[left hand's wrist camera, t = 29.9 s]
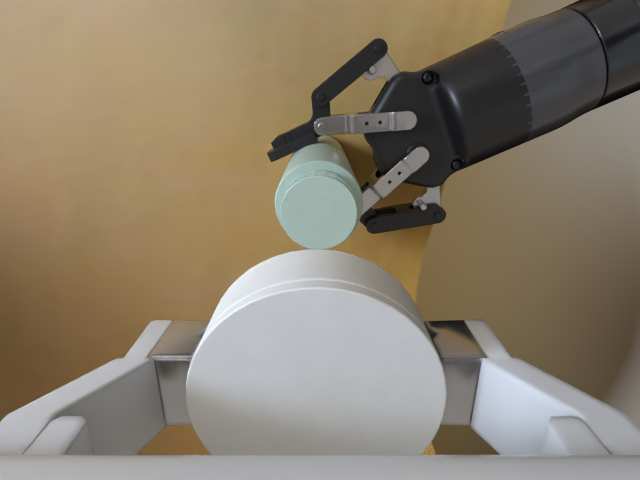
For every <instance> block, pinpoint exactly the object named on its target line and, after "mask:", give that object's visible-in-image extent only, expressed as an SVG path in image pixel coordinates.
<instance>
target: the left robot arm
mask: <svg viewBox="0 0 640 480" xmlns="http://www.w3.org/2000/svg"><path fill="white" fill-rule="evenodd" d="M209 322H210V321H197V320H154V321H151V322H150V324H149V325H148V326H147V328H146V329H145V330H144V331H143V333H142V334H141V335H140V337H139V338H138V339H137V341H136V342H135V343H134V345H133V346H132V347H131V349H130V350H129V351H128V353H127V354H126V355H125V357H124V358H116V359H115V360H113V361H111V362H109V363H107V364H105V365H103V366H101V367H99V368H97V369H95V370H93V371H91V372H89V373H87V374H85V375H83V376H81V377H79V378H78V379H76V380H74V381H72V382H70V383H68V384H66V385H64V386H62V387H60V388H58V389H56V390H54V391H52V392H50V393H48V394H46V395H44V396H42V397H41V398H39V399H37V400H35V401H33V402H31V403H29V404H27V405H25V406H23V407H21V408H19V409H17V410H15V411H13V412H11V413H9V414H8V415H7V416H6V417H5V418H4V419H3V420H2V421H1V422H0V480H640V427H639V426H638V425H637V424H636V423H635V422H634V421H633V420H632V419H631V418H630V417H629V416H628V415H627V414H625V413H623V412H621V411H619V410H617V409H615V408H613V407H611V406H609V405H607V404H606V403H604V402H602V401H600V400H598V399H596V398H594V397H592V396H590V395H588V394H586V393H584V392H582V391H581V390H579V389H577V388H575V387H573V386H571V385H569V384H567V383H565V382H563V381H561V380H559V379H557V378H556V377H554V376H552V375H550V374H548V373H546V372H544V371H542V370H540V369H538V368H536V367H534V366H532V365H531V364H529V363H527V362H525V361H523V360H521V359H519V358H512V357H511V356H510V355H509V353H508V352H507V351H506V349H505V348H504V347H503V345H502V344H501V343H500V341H499V340H498V338H497V337H496V336H495V334H494V333H493V332H492V330H491V329H490V328H489V326H488V325H487V324H486V322H485V321H483V320H457V321H423V322H424V324H425V326H426V329H427V331H428V333H429V335H430V337H431V340H432V342H433V344H434V346H435V348H436V350H437V353H438V355H439V357H440V360H441V362H442V365H443V369H444V373H445V377H446V387H447V397H446V407H445V411H444V415H443V419H442V422H441V424H443V425H471V428H472V429H473V430H474V431H475V432H477V433H478V434H479V435H480V436H481V437H482V438H483V439H484V440H485V441H486V442H487V443H488V444H489V445H491V446H492V447H493V448H494V449H495V450H496V451H497V452H498V453H499V454H500V455H135V454H137V453H138V452H139V451H140V450H141V449H142V448H143V447H144V446H145V445H146V444H148V443H149V442H150V441H151V440H152V439H153V438H154V437H155V436H156V435H157V434H158V433H160V432H161V431H162V430H163V429H164V428H165V425H192V423H191V420H190V417H189V414H188V408H187V403H186V381H187V374H188V370H189V367H190V364H191V361H192V358H193V356H194V354H195V351H196V349H197V348H198V345H199V343H200V341H201V339H202V337H203V335H204V333H205V331H206V329H207V327H208V324H209Z"/></svg>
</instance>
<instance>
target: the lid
mask: <svg viewBox="0 0 640 480" xmlns="http://www.w3.org/2000/svg"><path fill="white" fill-rule="evenodd" d="M446 397H447V387H446V377H445V373H444V369H443V365H442V362H441V360H440V357H439V355H438V353H437V350H436V348H435V346H434V344H433V342H432V340H431V337H430V335H429V333H428V331H427V329H426V326H425V324H424V322H423V320H422V318H421V316H420V313H419V311H418V309H417V307H416V305H415V303H414V301H413V300H412V298H411V296H410V295H409V293H408V292H407V291H406V290H405V288H404V287H403V286H402V285H401V283H400V282H398V281H397V280H396V279H395V278H394V277H393V276H392V275H391V274H390V273H388V272H387V271H385V270H384V269H382V268H381V267H379V266H378V265H376V264H374V263H372V262H370V261H368V260H366V259H364V258H361V257H358V256H355V255H352V254H349V253H344V252H340V251H334V250H323V249H313V250H300V251H294V252H289V253H285V254H281V255H278V256H275V257H272V258H270V259H268V260H265V261H263V262H261V263H259V264H258V265H256V266H254V267H252V268H251V269H249V270H248V271H247V272H245V273H244V274H243V275H242V276H240V277H239V278H238V279H237V280H236V281H235V282H234V283H233V284H232V285H231V286H230V287H229V288H228V290H227V291H226V293H225V294H224V295H223V297H222V298H221V300H220V302H219V304H218V306H217V308H216V310H215V312H214V314H213V316H212V318H211V320H210V322H209V324H208V327H207V329H206V331H205V333H204V335H203V337H202V339H201V341H200V343H199V345H198V348H197V349H196V351H195V354H194V356H193V358H192V361H191V364H190V367H189V370H188V374H187V381H186V403H187V408H188V414H189V417H190V420H191V423H192V426H193V428H194V430H195V432H196V434H197V436H198V438H199V439H200V441H201V442H202V444H203V445H204V446H205V448H206V449H207V450H208V452H209V453H210V454H211V455H421V454H422V453H423V452H424V451H425V450H426V448H427V447H428V446H429V445H430V443H431V441H432V440H433V438H434V437H435V435H436V433H437V431H438V429H439V426H440V424H441V422H442V419H443V415H444V411H445V407H446Z"/></svg>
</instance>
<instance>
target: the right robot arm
mask: <svg viewBox="0 0 640 480" xmlns="http://www.w3.org/2000/svg"><path fill="white" fill-rule="evenodd" d="M361 75H362V76H363V78H364V79H366V80H374V79H376V78H378V77H382V78H384V79H385V80H386V81H387V82H386V83H385V85H384V87H383V88H382V90H381V92H380V94H379V95H378V97H377V99H376V100H375V102H374V104H373V105H372V107H371V109H370V111H368V112H356V113H346V114H335V115H330V101H331V100H332V99H333V98H334V97H336V96H337V95H338V94H339V93H341V92H342V91H343V90H344V89H345V88H347V87H348V86H349V85H350V84H351V83H353V82H354V81H355V80H356V79H357V78H359V77H360V76H361ZM638 90H640V0H579V1H577V2H575V3H573V4H570V5H568V6H566V7H564V8H562V9H560V10H558V11H555V12H553V13H550V14H547V15H544V16H541V17H538V18H534V19H531V20H529V21H526V22H523V23H521V24H519V25H516V26H514V27H512V28H510V29H508V30H505V31H501V32H498V33H496V34H494V35H492V36H491V37H490V38H489V39H486V40H484V41H482V42H480V43H478V44H476V45H474V46H472V47H469V48H467V49H465V50H463V51H461V52H459V53H457V54H454V55H452V56H450V57H448V58H446V59H444V60H442V61H439V62H437V63H435V64H433V65H431V66H429V67H427V68H424V69H422V70H420V71H417V72H400V71H399V70H398V68H397V67H396V65H395V64H394V62H393V61H392V59H391V58H390V56H389V55H388V53H387V44H386V42H385V41H384V40H383V39H375V40H373V41H372V42H371V43H370V44H368V45H367V46H366V47H365V48H364V49H362V50H361V51H360V52H359V53H358V54H356V55H355V56H354V57H353V58H352V59H351V60H349V61H348V62H347V63H346V64H345V65H343V66H342V67H341V68H340V69H339V70H338V71H336V72H335V73H334V74H333V75H332V76H330V77H329V78H328V79H327V80H326V81H325V82H323V83H322V84H321V85H320V86H319V87H317V88H316V89H315V90H314V91H313V93H312V96H311V98H312V109H313V115H312V118H311V119H310V120H309V121H308V122H306V123H304V124H302V125H300V126H298V127H296V128H294V129H292V130H289V131H287V132H285V133H283V134H281V135H279V136H277V137H276V138H275V140H274V141H273V142H272V143H271V144H272V146H273V149H271V150H269V151H268V152H267V155H268V157H269V159H270V161H271V162H273V161H276V160H278V159H280V158H282V157H284V156H287V155H289V154H291V153H293V152H295V151H297V150H300V149H302V148H304V147H306V146H308V145H311V144H313V143H315V142H317V141H318V137H320V136H323V135H335V134H357V133H363V134H364V136H365V139H366V141H367V142H368V144H369V145H370V146H371V148H372V149H373V157H374V162H375V164H376V167H377V169H376V170H375V171H373V172H372V173H371V174H370V175H369V176H368V177H367V179H366V180H365V182H364V183H362V184H361V185H360V189H361V192H362V196H363V210H362V214H361V217H360V220H359V221H360V222H361V223H362V224H363V225H364V226H365V227H366V228H367V230H368V232H370V233H372V234H376V233H382V232H388V231H394V230H400V229H406V228H412V227H418V226H424V225H430V224H436V223H440V222H442V221H443V220H444V219H445V217H446V213H445V211H444V209H443V208H442V207H441V199H440V185H441V184H442V183H444V181H445V180H446V179H447V178H448V177H449V176H450V175H451V174H453V173H454V172H456V171H458V170H461V169H464V168H466V167H468V166H471V165H473V164H475V163H478V162H480V161H483V160H485V159H487V158H490V157H492V156H494V155H497V154H499V153H501V152H504V151H506V150H508V149H511V148H513V147H516V146H518V145H520V144H523V143H525V142H527V141H530V140H532V139H534V138H537V137H539V136H541V135H544V134H546V133H549V132H551V131H553V130H555V129H558V128H560V127H562V126H563V125H565V124H567V123H569V122H571V121H572V120H574V119H576V118H577V117H579V116H581V115H583V114H585V113H587V112H589V111H591V110H593V109H596V108H598V107H601V106H603V105H605V104H608V103H610V102H612V101H615V100H617V99H619V98H622V97H624V96H626V95H629V94H631V93H633V92H636V91H638ZM389 180H390V182H388V181H389ZM401 182H404V183H408V184H413V185H418V186H423V187H424V190H423V191H422V192H421V193H420V194H417V195H415V196H414V197H413V198H412V199H411V203H407V204H401V205H395V206H389V207H383V208H377V209H373V208H372V206H373V205H374V204H375V203H376V202H377V201H378V200H380V199H382V198H384V197H386V196H387V195H388V194H389V193H390V192H391V191H392V190H394V189H395V188H396V187H397V186H398V185H399V184H400V183H401Z"/></svg>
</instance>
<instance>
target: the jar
mask: <svg viewBox="0 0 640 480" xmlns="http://www.w3.org/2000/svg"><path fill="white" fill-rule="evenodd" d="M275 210H276V215H277V218H278V220H279V222H280V224H281V226H282V227H283V229H284V230H285V231H286V233H287V234H288V236H289V237H290V238H291V239H292V240H293V241H295V242H296V243H297V244H299V245H301V246H303V247H306V248H309V249H323V250H324V249H329V248H332V247H335V246H337V245H339V244H341V243H342V242H343V241H345V240H346V239H347V238H348V237H349V236H350V235H351V233H352V232H353V230H354V229H355V228H356V225H357V224H358V222H359V220H360V217H361V214H362V210H363V196H362V192H361V189H360V186H359V184H358V182H357V179H356V177H355V175H354V172H353V170H352V168H351V166H350V163H349V161H348V159H347V157H346V154H345V152H344V150H343V148H342V146H341V145H340V143H339V142H338V141H337V140H335V139H334V138H332V137H331V136H328V135H323V136H320V137H318V141H317V142H315V143H313V144H311V145H308V146H306V147H304V148H302V149H300V150H297V151H295V152H293V154H292V157H291V159H290V161H289V163H288V166H287V168H286V170H285V172H284V174H283V177H282V179H281V181H280V183H279V186H278V188H277V191H276V196H275Z"/></svg>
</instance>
